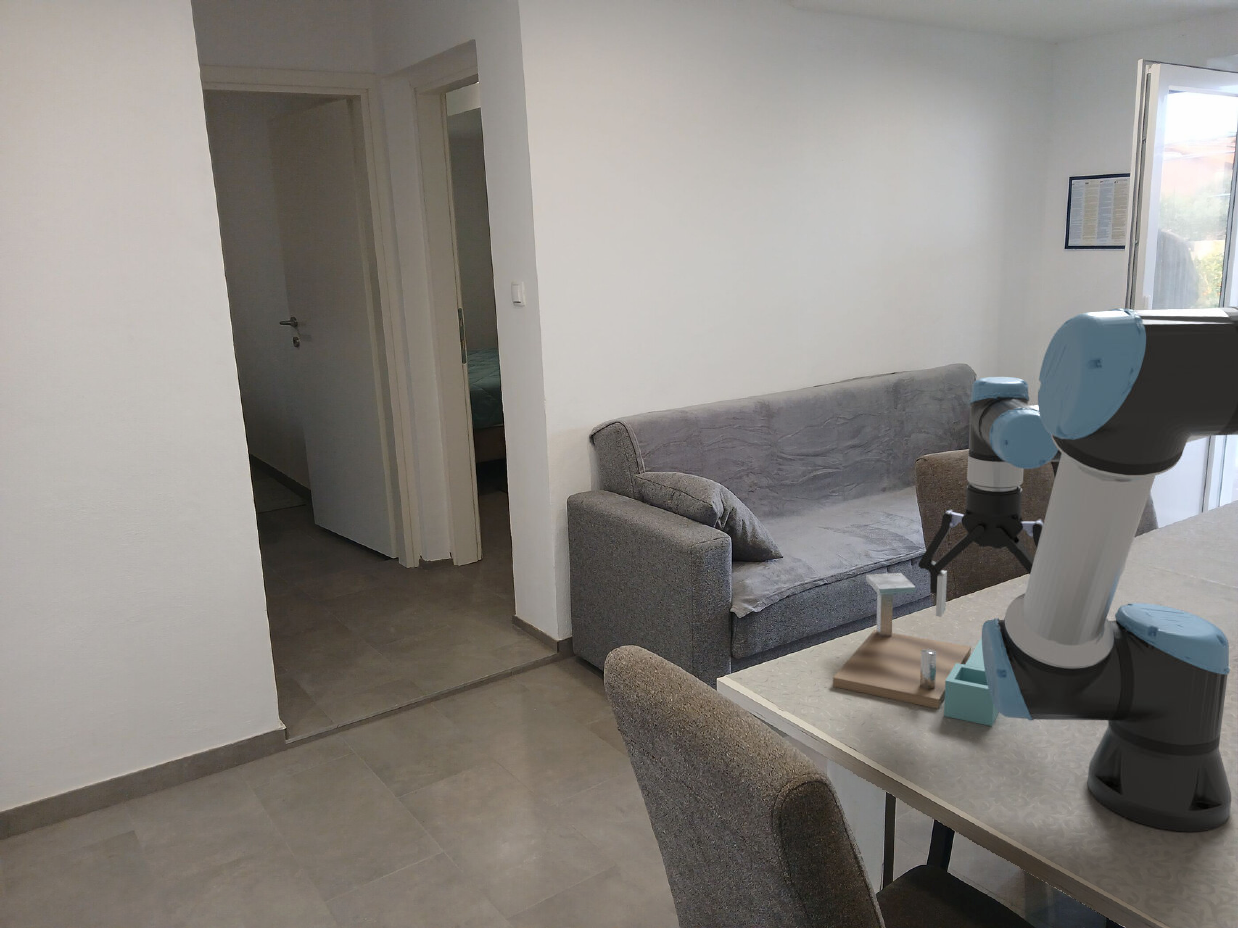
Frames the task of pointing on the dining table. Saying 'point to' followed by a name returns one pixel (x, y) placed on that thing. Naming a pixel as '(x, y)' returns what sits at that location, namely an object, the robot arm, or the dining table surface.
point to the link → (969, 691)
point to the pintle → (928, 669)
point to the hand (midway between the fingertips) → (987, 621)
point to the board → (899, 668)
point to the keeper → (888, 597)
